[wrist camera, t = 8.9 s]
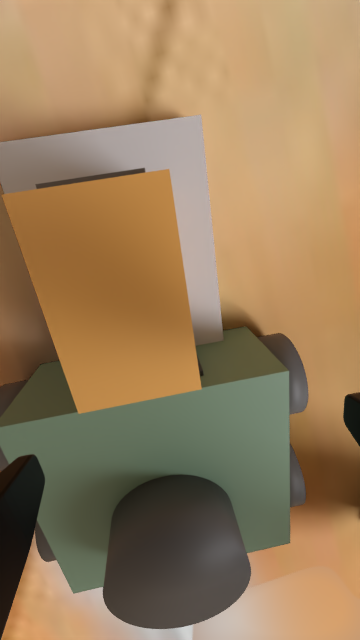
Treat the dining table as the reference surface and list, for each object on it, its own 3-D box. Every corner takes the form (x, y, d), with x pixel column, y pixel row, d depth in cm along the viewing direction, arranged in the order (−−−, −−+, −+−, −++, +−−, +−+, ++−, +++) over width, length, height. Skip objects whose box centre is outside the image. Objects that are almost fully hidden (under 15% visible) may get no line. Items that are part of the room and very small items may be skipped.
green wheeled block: (261, 116, 14) (420, -34, 6) (273, 461, 23) (345, 597, 15) (-70, 162, 13) (-430, 60, 5) (72, 504, 22) (27, 676, 14)
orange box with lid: (159, 185, 14) (167, 157, 8) (183, 333, 17) (201, 389, 11) (60, 200, 13) (-3, 183, 8) (102, 348, 16) (78, 413, 11)
